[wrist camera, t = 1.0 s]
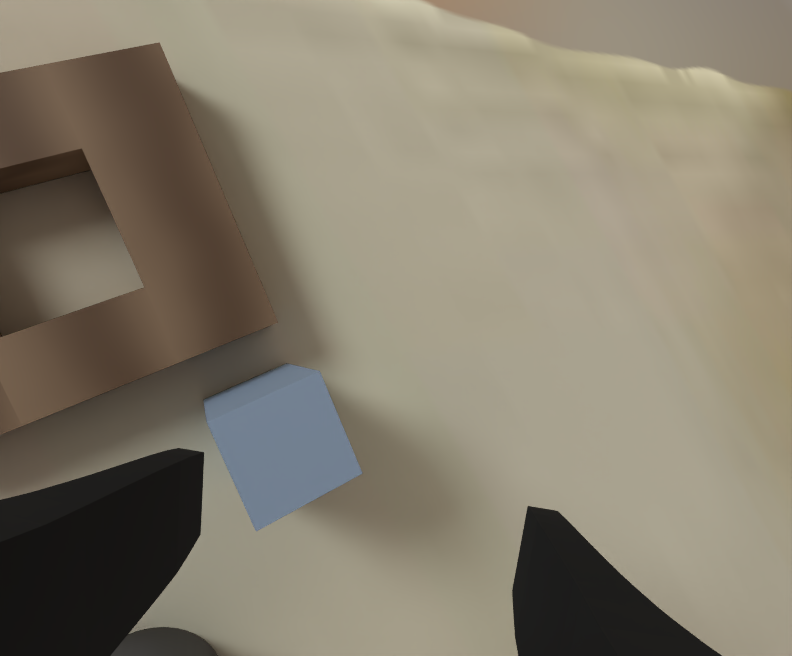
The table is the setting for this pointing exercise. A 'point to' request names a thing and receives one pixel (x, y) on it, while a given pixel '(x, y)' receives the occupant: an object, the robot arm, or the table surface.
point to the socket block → (124, 229)
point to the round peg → (163, 643)
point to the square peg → (281, 441)
